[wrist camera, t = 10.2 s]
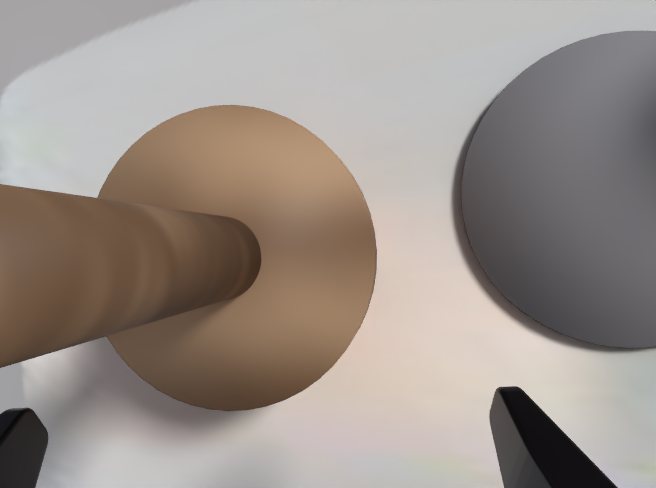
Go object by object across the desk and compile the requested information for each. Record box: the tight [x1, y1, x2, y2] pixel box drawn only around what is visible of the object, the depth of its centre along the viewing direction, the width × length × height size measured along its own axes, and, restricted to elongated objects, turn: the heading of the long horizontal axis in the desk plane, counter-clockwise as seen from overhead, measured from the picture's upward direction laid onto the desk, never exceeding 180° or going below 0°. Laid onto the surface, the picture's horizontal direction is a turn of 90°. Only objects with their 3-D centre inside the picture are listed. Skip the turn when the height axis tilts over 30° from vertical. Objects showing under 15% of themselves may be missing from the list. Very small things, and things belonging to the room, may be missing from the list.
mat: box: [461, 31, 656, 348], centre depth 19 cm, size 13×13×1 cm
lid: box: [0, 105, 377, 411], centre depth 11 cm, size 11×11×13 cm
